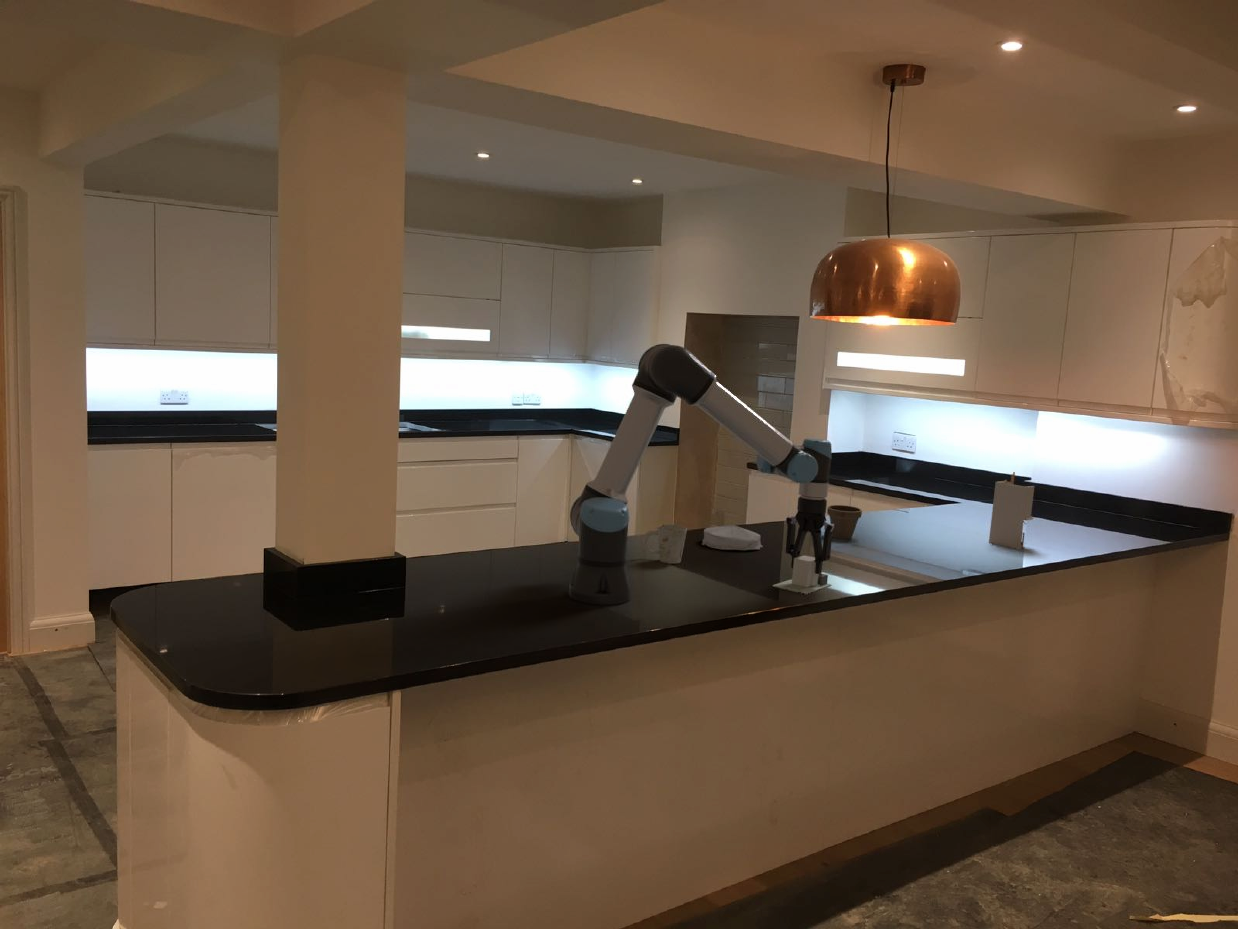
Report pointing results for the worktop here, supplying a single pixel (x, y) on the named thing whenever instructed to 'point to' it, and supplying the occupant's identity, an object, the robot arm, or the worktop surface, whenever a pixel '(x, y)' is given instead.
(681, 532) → the mug
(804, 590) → the board
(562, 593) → the worktop surface
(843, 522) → the flower pot
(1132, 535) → the worktop surface
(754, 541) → the food container
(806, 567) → the plug housing
